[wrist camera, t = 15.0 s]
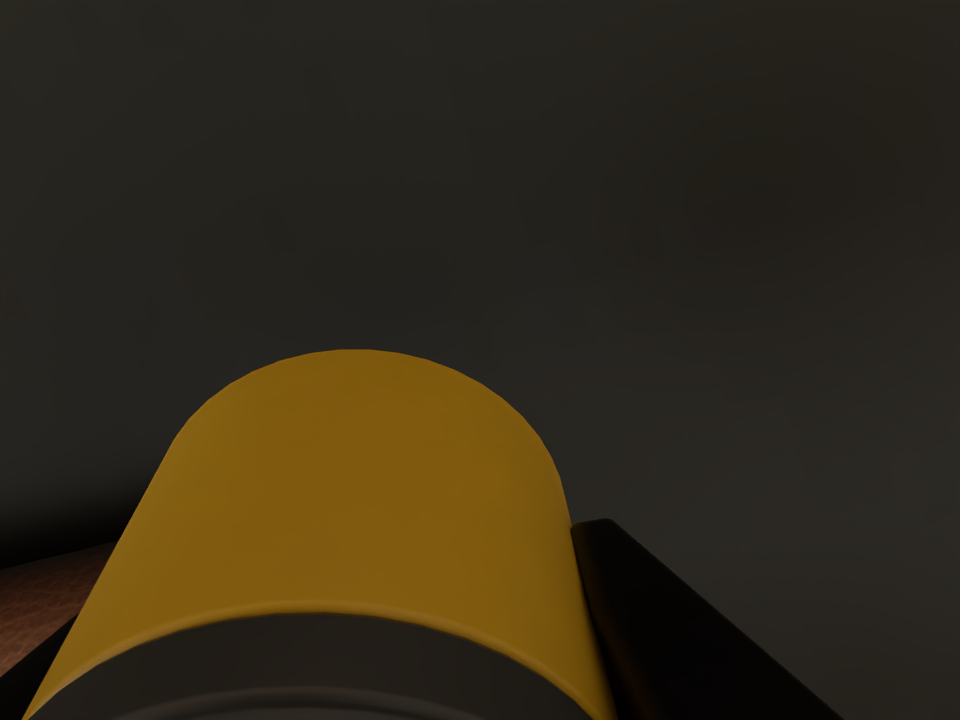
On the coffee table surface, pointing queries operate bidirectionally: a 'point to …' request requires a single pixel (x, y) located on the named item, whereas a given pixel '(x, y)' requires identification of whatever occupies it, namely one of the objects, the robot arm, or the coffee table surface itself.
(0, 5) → the coffee table surface
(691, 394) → the coffee table surface
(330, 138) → the coffee table surface
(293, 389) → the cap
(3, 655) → the sunglasses case
